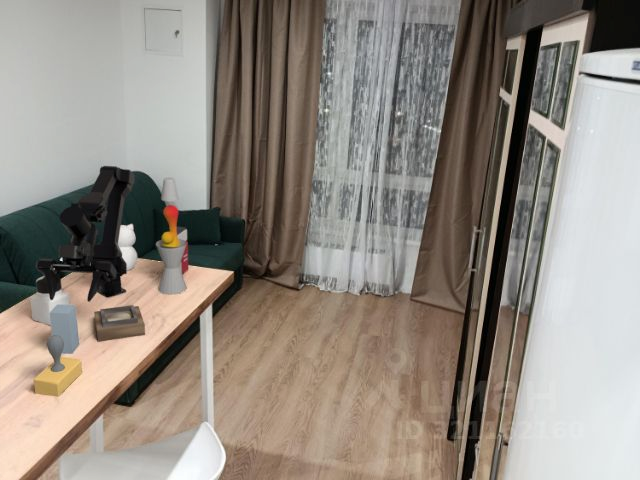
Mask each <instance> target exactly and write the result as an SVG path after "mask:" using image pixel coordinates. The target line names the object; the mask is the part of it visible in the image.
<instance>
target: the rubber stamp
mask: <svg viewBox="0 0 640 480" xmlns="http://www.w3.org/2000/svg"><path fill="white" fill-rule="evenodd" d="M46 348H47V350H48V353H49V354H50V356H51V358H52V359H53V362H51V363H50V364H49V365H48V366H47V367H46V368H45V369H44V370H43V371H42V372H40V373H39V374H38V375H36V376H35V378H34V379H33V383H34V384H33V385H34V386H33V387H34V392H35V394H36V395H44V396H49V397H60V396H61V395H62V393H64V391H65V390H67V389H68V388H69V387H70V386H71V384H73V382H74V381H75V380H77V378H79V376H81V374H82V373H83V366H82V365H83V364H82V360H81V359H78V358H74V357H72V358H71V357H63V356H62V354H63V353H62V351H63V348H64V341H63V339H62V338H61V337H60V336H59V335H52V334H51V335H50V336H49V337H48V339H47V340H46Z"/></svg>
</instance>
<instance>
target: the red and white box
mask: <svg viewBox="0 0 640 480" xmlns="http://www.w3.org/2000/svg"><path fill="white" fill-rule="evenodd" d="M168 232H170V230H169V231H168ZM177 237H178V239H182V240H184V241H186V243H187V244H186V247H185V250H184V253H183V256H182V259H181V262H180V265H179V267H180V270H181V272H182V275H183V274H184V273H186V272H187V271H188V270H189V244H188V243H189V242H188V229H187V227H184V226H177ZM164 268H165V266H164Z"/></svg>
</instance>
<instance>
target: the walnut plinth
mask: <svg viewBox="0 0 640 480" xmlns="http://www.w3.org/2000/svg"><path fill="white" fill-rule="evenodd" d="M93 313H94V315H93V316H94V323H95V324H94V325H95V328H96V329H95V330H96V334H97V342H98V343H99V342H105V341H113V340H118V339H119V340H120V339H126V338H133V337H139V336H146V324H145V321H144V318H143V315H142V313H141V309H140V306H139V305H133V304H130V305H123V306H115V307H107V308H106V307H105V308H100V310H94V312H93Z"/></svg>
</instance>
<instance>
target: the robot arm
mask: <svg viewBox="0 0 640 480" xmlns="http://www.w3.org/2000/svg"><path fill="white" fill-rule="evenodd" d="M135 179H136V178H135V174H134V172H132V171H131V169H126V168H125V169H124V168H121V167H118V166H117V165H116V166H114V165H113V166H112V165H103V166H100V168H99V174H98V176H97V177H96V179H95V181H94V183H93V185H92V187H91V189H90V191H89V192H88V193H86V194H85V195H82V196H81V197H80V198H78V200H77V201H76V202H71V204H70V206H69V207H66V208H65V209H64V210H62V211H61V213H60V215H59V220H60V223H61V224H62V225H63V227H64V228H65V229H66V230H67V232H68V233H69V234H70V235H72V236H71V241H68V244H66V245H65V244H60V245H59V246H58V247H59V248H58V255H57V256H58V257H57V258H58V259H62V261H63V262H64V263H58V261H56V260H55V259H54V258H53V259H52V258H39V259H38V260H37V261H36V264H35V267H34V268H35V269H36V270H37V271H38V273H40V274H41V275H42V277H43V276H45V277H46V279H47V283H48V289H49V296H50V299H51V300H53V299H54V296H55V293H56V289H57V285H58V282H59V278H60V276H59V275H60V273H61V272H62V273H63V272H65V273H82V274H83V273H84V274H85V273H87V274H92V277H91V278H92V279H91V283H90V286H89V290H88V293H87V298H86V299H87V302H91V301H92V300H93V298H95V296H96V294H97V293H98V294H100V295H101V296H104V297H105V298H111V297H114V296H117V295H121V294H123V293H126V292H127V289H125V288H124V287H122V278H121V277H123V275H127V273H128V271H126V269H127V264H126V262H125V261H124V259H123V258H122V252H121V250H120V248H119V246H118V240H119V233H120V226H121V225H122V220H123V219H122V218H123V212H124V205H125V199H126V198H127V197H128V196H129V194H131V192H132V188H133V185H134V184H135V182H136V180H135ZM106 202H107V203H106ZM94 223H96V224H97V223H98V224H99V223H103V229H102V235H101V240H100V242H98V243H96V239H97V237H98V236H99V231H98V228H97V227H96V225H95V224H94Z"/></svg>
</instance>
